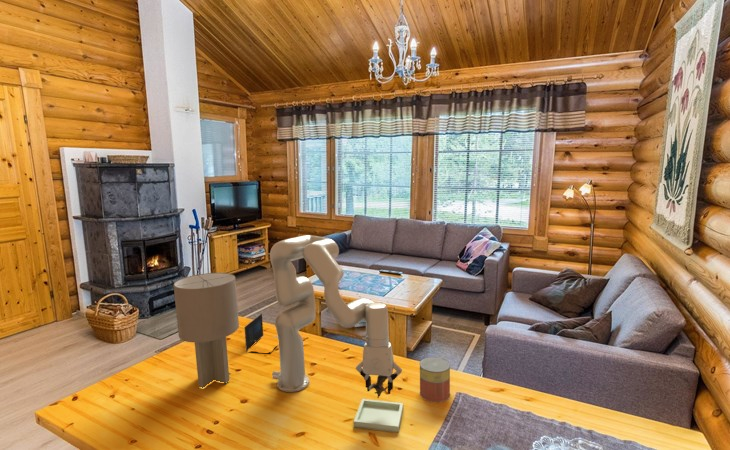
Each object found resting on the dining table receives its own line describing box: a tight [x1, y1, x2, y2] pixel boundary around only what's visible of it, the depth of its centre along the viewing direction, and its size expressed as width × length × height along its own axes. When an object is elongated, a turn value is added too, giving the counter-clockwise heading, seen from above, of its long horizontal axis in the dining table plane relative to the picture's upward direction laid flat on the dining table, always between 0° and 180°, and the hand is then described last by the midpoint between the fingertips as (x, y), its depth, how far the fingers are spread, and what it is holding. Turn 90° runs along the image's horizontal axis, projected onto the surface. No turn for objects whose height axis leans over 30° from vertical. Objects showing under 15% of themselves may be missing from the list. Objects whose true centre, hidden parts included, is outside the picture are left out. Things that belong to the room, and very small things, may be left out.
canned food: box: [419, 356, 451, 403], centre depth 147 cm, size 11×11×12 cm
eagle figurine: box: [369, 375, 388, 399], centre depth 135 cm, size 8×7×9 cm
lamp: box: [173, 272, 240, 388], centre depth 159 cm, size 23×23×43 cm
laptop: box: [243, 312, 278, 352], centre depth 193 cm, size 18×12×13 cm
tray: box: [353, 398, 404, 433], centre depth 134 cm, size 15×13×2 cm
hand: (379, 389), depth 133 cm, fingers closed on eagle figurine, 6 cm apart
